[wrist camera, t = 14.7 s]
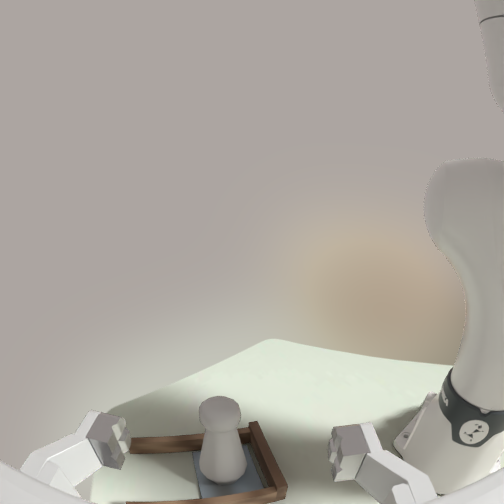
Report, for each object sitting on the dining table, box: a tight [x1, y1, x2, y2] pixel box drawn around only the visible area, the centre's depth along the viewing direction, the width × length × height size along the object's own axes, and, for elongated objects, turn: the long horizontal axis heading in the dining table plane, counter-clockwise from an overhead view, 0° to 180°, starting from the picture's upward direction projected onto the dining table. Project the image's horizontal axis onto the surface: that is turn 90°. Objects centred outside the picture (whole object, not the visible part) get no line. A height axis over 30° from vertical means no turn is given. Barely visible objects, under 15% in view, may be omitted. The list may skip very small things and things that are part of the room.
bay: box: [126, 421, 288, 504], centre depth 29 cm, size 18×12×4 cm, turn 106°
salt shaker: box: [199, 396, 247, 485], centre depth 29 cm, size 6×6×13 cm
